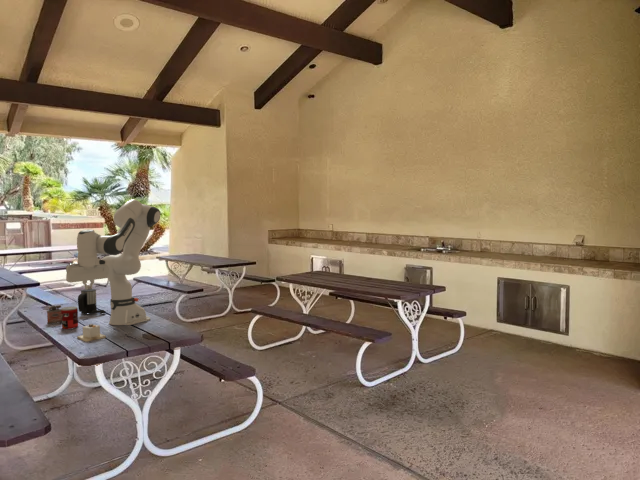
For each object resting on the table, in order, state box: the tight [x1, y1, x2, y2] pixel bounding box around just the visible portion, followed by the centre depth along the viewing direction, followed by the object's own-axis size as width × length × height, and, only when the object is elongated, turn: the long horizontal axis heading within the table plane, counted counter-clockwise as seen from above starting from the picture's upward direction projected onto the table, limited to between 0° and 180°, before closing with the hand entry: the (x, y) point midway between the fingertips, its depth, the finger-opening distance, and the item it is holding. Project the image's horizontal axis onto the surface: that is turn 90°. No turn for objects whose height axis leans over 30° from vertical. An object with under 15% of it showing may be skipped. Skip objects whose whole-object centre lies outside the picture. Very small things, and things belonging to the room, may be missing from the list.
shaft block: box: [76, 323, 107, 343], centre depth 241 cm, size 10×10×7 cm
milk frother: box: [77, 288, 106, 315], centre depth 297 cm, size 14×16×15 cm
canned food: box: [60, 306, 79, 330], centre depth 262 cm, size 8×8×11 cm
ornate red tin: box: [46, 304, 62, 325], centre depth 273 cm, size 8×3×10 cm, turn 126°
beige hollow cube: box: [82, 324, 101, 338], centre depth 241 cm, size 6×6×6 cm
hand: (88, 289), depth 240 cm, fingers closed
